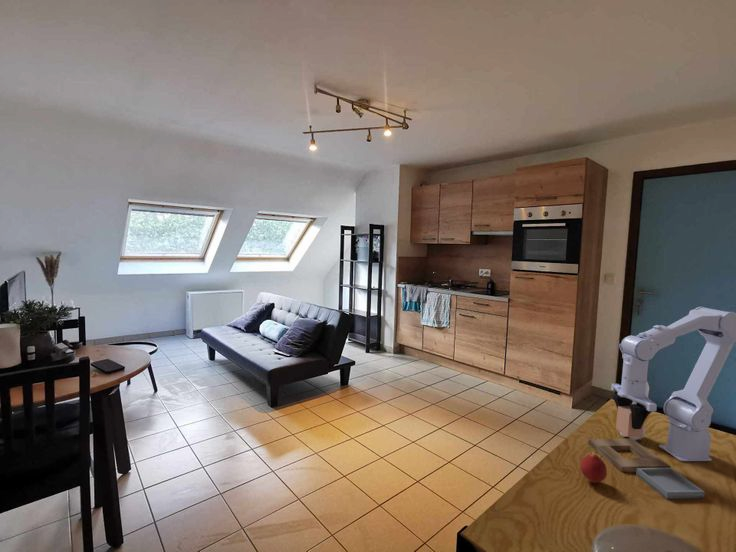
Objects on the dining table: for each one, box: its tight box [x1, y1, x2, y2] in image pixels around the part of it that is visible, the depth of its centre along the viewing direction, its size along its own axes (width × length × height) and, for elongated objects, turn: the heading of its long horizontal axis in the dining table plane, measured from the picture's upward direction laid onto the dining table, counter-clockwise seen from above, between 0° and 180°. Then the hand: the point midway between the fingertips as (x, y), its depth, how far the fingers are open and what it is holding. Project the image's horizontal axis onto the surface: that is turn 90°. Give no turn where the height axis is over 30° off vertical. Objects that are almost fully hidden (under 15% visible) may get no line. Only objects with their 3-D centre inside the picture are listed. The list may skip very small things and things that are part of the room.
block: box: [615, 406, 645, 438], centre depth 107 cm, size 4×4×7 cm
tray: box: [635, 467, 706, 500], centre depth 96 cm, size 10×10×2 cm
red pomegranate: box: [580, 452, 608, 484], centre depth 96 cm, size 6×6×8 cm
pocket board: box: [587, 438, 672, 473], centre depth 108 cm, size 14×14×2 cm
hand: (629, 424), depth 108 cm, fingers closed on block, 4 cm apart
